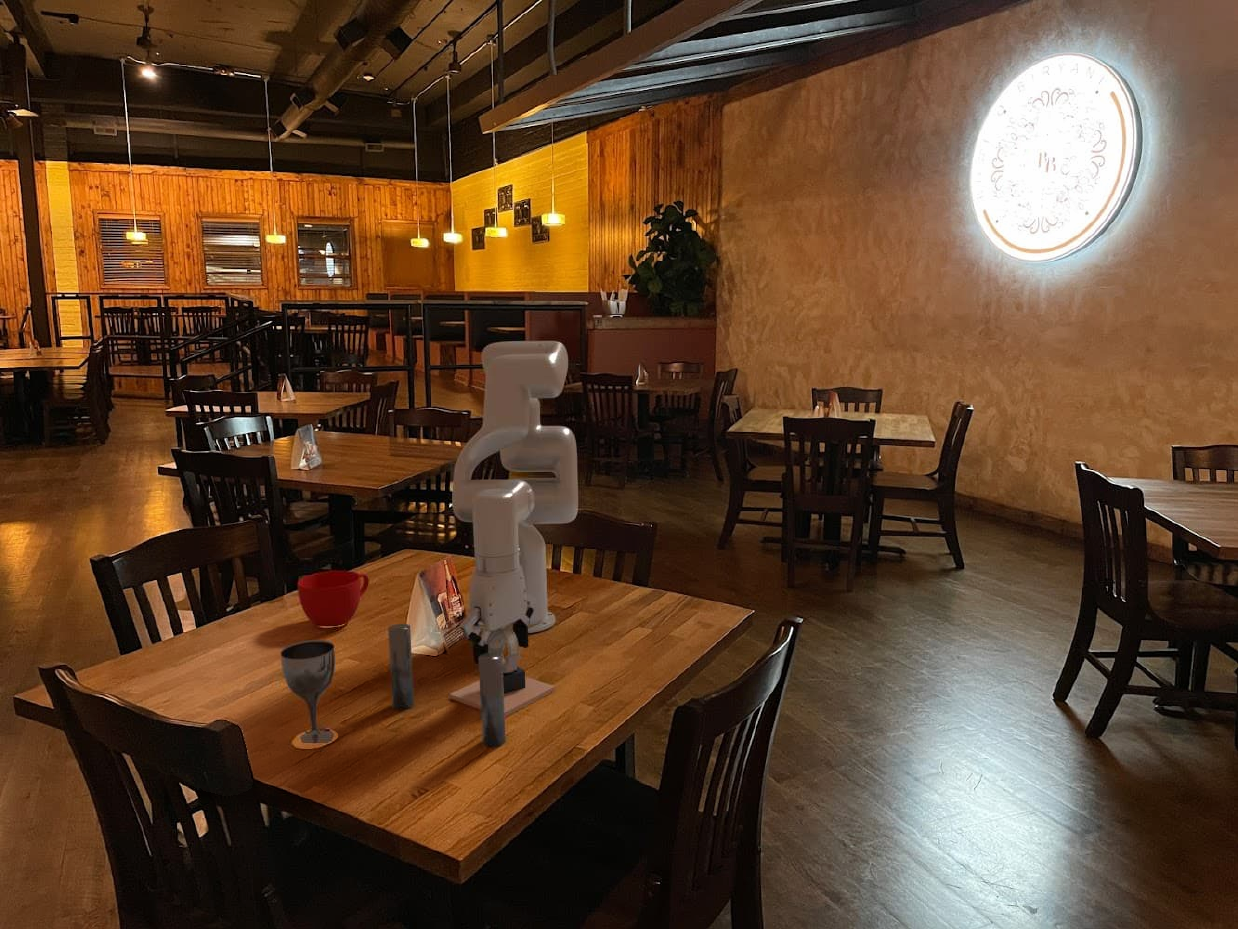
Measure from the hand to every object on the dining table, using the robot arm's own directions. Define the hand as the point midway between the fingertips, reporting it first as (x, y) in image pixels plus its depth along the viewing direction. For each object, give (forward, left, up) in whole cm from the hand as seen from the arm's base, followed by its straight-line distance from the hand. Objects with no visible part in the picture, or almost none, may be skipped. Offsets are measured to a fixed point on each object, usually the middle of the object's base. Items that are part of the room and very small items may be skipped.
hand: (501, 655), depth 155 cm
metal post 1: (-11, -13, -7) cm, 19 cm away
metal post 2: (+11, -13, -7) cm, 19 cm away
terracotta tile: (0, 0, -7) cm, 7 cm away
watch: (0, +1, -7) cm, 7 cm away
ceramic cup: (-56, +6, -7) cm, 56 cm away
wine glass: (-13, -29, -7) cm, 33 cm away
